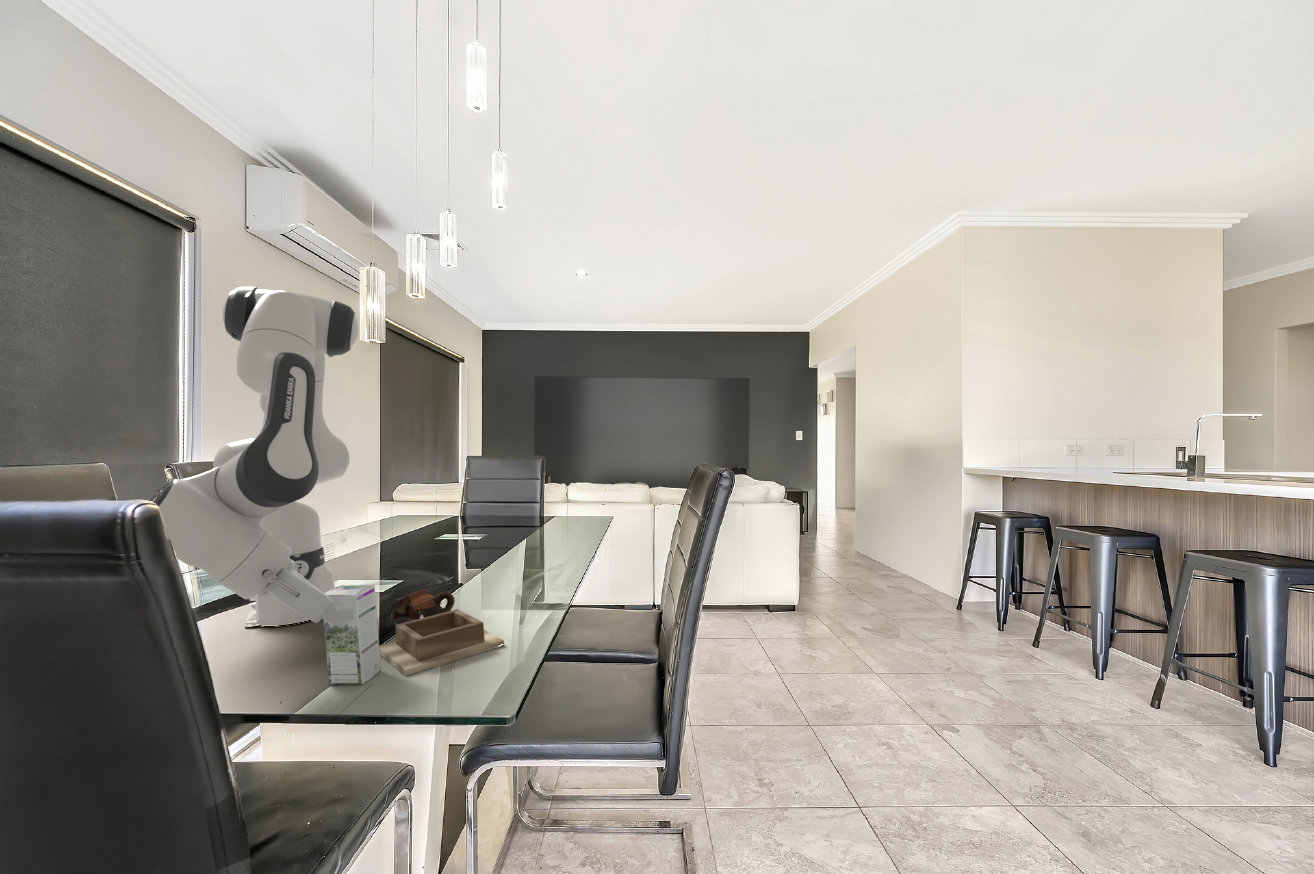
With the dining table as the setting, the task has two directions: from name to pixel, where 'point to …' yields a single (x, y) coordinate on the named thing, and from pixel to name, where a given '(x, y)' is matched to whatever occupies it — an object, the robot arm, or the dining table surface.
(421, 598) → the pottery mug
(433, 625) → the board
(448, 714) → the dining table surface
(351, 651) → the syrup box
